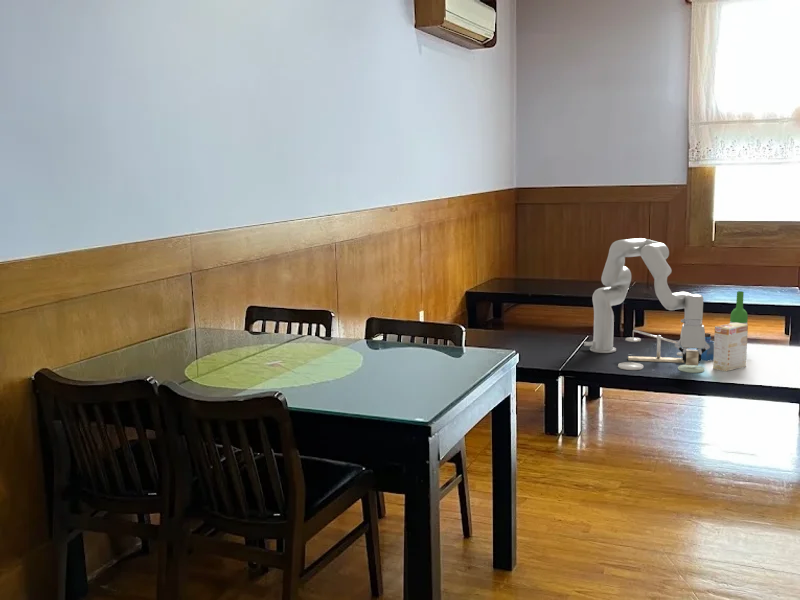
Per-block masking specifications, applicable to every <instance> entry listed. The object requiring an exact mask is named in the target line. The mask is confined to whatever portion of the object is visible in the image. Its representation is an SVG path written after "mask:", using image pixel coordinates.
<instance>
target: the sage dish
mask: <svg viewBox="0 0 800 600" xmlns="http://www.w3.org/2000/svg"><path fill="white" fill-rule="evenodd" d="M677 369H678V371H679V372H683V373H690V374H696V373H697V374H699V373H704V372H705V367H703V366H701V365H698V366H697V365H686V364H680V365H678V367H677ZM703 371H704V372H703Z"/></svg>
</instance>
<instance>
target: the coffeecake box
mask: <svg viewBox="0 0 800 600" xmlns="http://www.w3.org/2000/svg"><path fill="white" fill-rule="evenodd" d="M748 330H749V324H748V323H747V324H742V323H736V322H735V323H730V322H729V323H727V324H726V323H724V324H720V325H715V326H714V338H713V339H714V341H713V342H714V358H713V360H712V361H713V363H712V369H713V370H717V369H718V371H722V372H730V371H733V370H737V369H741V368H745V367H746V368H747V355H748V354H747V353H748V352H747V349H748V335H749V333H748V332H749V331H748Z"/></svg>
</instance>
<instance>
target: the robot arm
mask: <svg viewBox="0 0 800 600" xmlns="http://www.w3.org/2000/svg"><path fill="white" fill-rule="evenodd" d="M669 256H670V250H669V248H668V246H667V245H666V244H665V243H663V242H659V241H656V240H653V239H652V240H651V239H647V238H642V237H639V238H628V239H627V238H626V239H619V240H615V241H614V242H612V243H611V245H610V247H609V250H608V254H607V258H606V262H605V265H604V266H603V267H604V268H603V271H602V273H601V279H600V280H601V283H602V285H603V287H599V288H597V289H595V290H594V292H593V294H592V299H591V300H592V305H593V306H592V307H593V340H592V341H584V342H583V346H584V347H589V350H590V352H593V353H598V354H599V353H600V354H611V353H615V352H617V348H616V347H614V326H615V325H614V322H615V315H614V311H613V308H612V307H613V306H617V305H621V304H622V303H623V302H624V301H625V299H626V296H627V294H628V292H629V291H628V290H629V288H630V284H631V282H632V272H631V270H630V268H628V267H627V266H625V264H626V258H633V257H635V258H636V257H641V259H642V261H643V262H644V265H646V268H647V269H648V270H649V273H651V275H652V278H653V279H654V281H653V282H654V283H653V284H654V286H653V287H654V291H655V295H656V297H657V298H658V300H659V302H660V303H661V305H662V306H663V307H664V308H665V310H668V311H675V310H676V311H677V310H682V309H684V318H682V319H680V323H683V324H682V326H681V330H680V331H681V332H680V339H679V340H678V341H676V342H677V343H676V344H675V343H674V347H675V348H676V349H678V350H679V351H680V352H682V353H683V356H681V358H682V360H684V363H683V364H685V363H686V350H687V348H688V349H697V348H698V352H699V356H698V364H700V362H702V360H701V354H702V353H703V352H705V351H706V350H707V349H709V348H710V346H709V345H708V344H707V342H706V341H705V325H704V324H703V315H704V314H703V313H704V296H703V295H702V294H698V293H690V292H688V291H679V292H672V290H671V289H670V286H669V285H668V277H669V276H670V275H671V274H672V268H671V266H670V265H669V264H668V262H667V259H668V257H669ZM680 344H681V345H680ZM682 348H683V349H682ZM701 348H702V349H701Z"/></svg>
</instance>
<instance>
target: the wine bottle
mask: <svg viewBox="0 0 800 600" xmlns="http://www.w3.org/2000/svg"><path fill="white" fill-rule="evenodd" d="M744 294H745V293H744V291H739V290H738V291H737V292H736V302H735V304H736V305H735V308H733V310H732V311H731V313H730V316H729V317H730V318H729V324H730V323H735V322H736V323H742V324H747V325H748V317H749V314H748V312H747V311H746V309H744Z"/></svg>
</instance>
